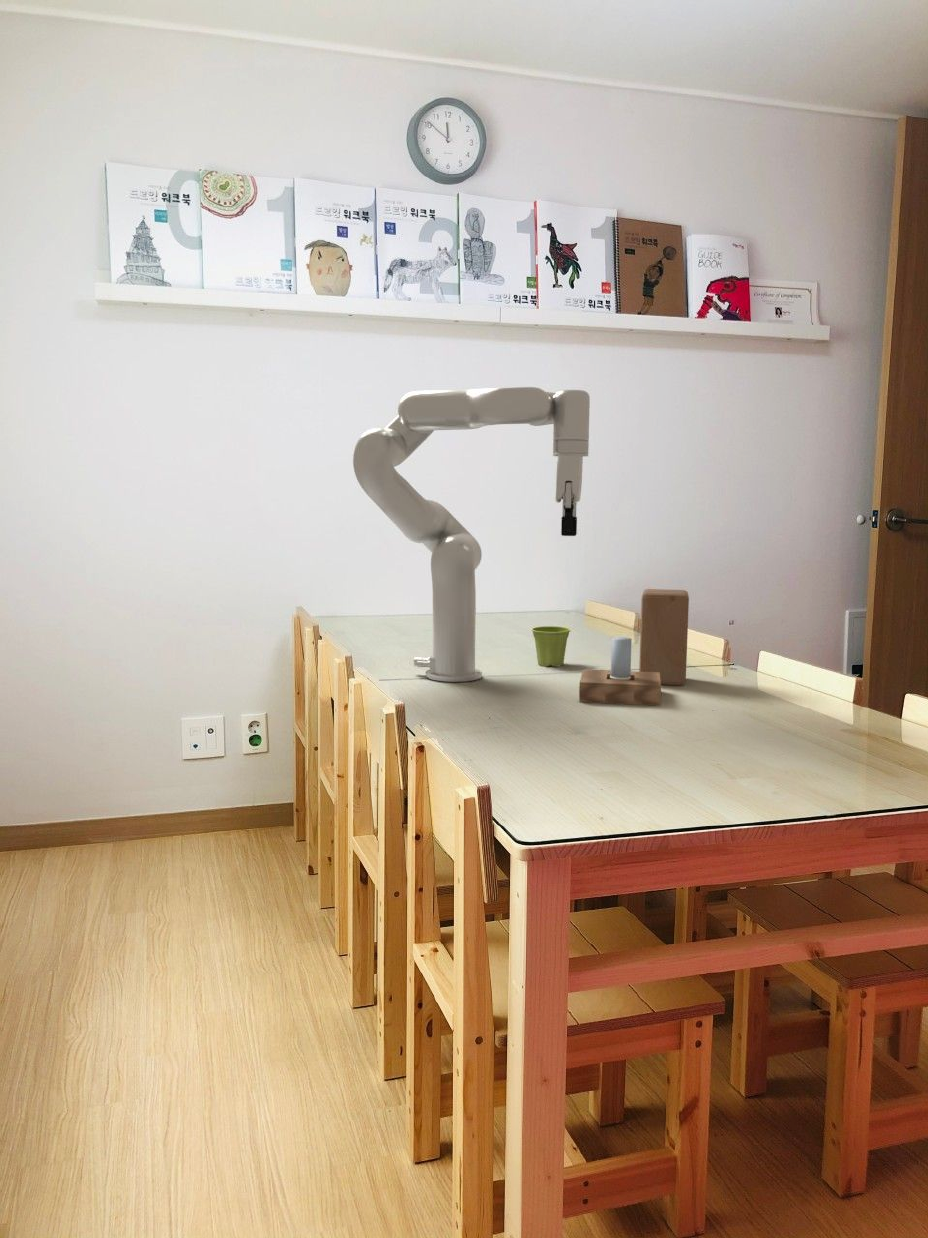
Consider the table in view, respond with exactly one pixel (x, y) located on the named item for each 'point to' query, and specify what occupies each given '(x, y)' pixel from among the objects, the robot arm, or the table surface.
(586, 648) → the table surface
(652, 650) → the wooden block
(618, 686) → the seat block
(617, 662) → the peg
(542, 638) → the plant pot
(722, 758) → the table surface
